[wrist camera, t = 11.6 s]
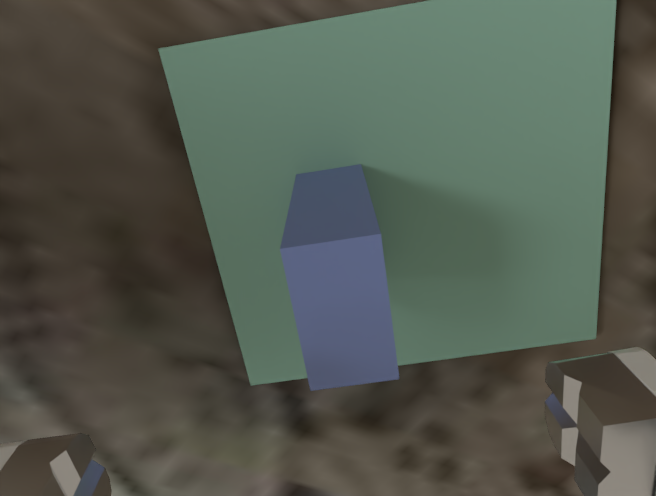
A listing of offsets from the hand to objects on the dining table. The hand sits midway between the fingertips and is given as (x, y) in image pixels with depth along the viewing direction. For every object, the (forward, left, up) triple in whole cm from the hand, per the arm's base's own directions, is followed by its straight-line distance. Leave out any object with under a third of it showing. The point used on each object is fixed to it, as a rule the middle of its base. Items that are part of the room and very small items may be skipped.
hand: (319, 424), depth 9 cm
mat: (+3, 0, -11) cm, 12 cm away
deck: (+1, 0, -11) cm, 11 cm away
